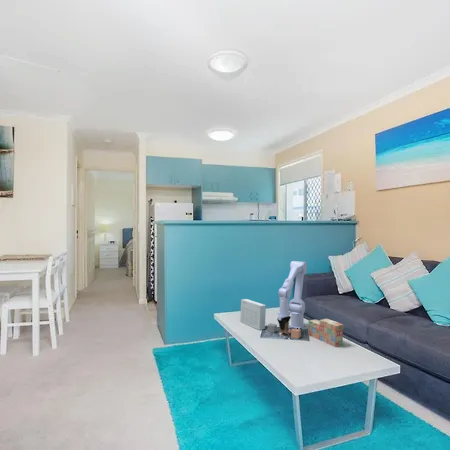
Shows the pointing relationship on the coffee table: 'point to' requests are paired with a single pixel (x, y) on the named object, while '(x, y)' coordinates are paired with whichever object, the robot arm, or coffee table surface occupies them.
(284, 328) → the walnut block
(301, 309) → the robot arm
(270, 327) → the grey cube
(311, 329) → the stack of blocks
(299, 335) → the terracotta cube
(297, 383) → the coffee table surface
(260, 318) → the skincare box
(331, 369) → the coffee table surface
